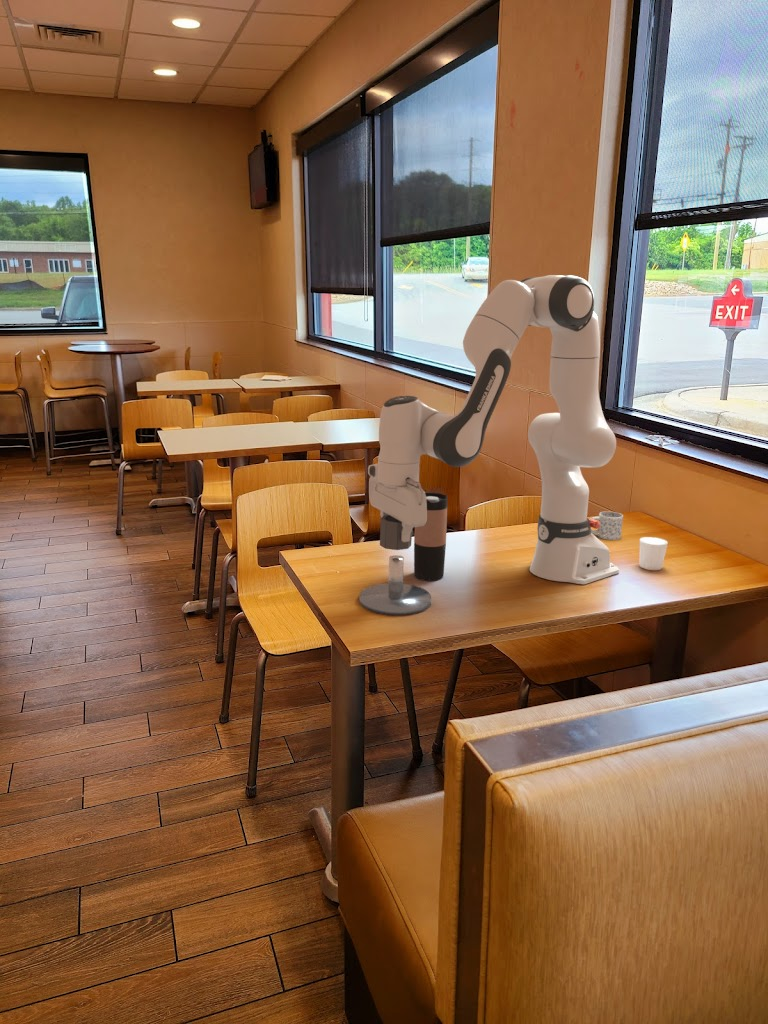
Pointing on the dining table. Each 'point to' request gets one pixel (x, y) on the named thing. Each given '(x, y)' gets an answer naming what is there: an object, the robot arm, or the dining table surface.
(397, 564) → the grey metal round base
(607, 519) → the mug
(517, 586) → the dining table surface
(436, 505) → the travel mug
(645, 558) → the white short tapered cylinder
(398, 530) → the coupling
